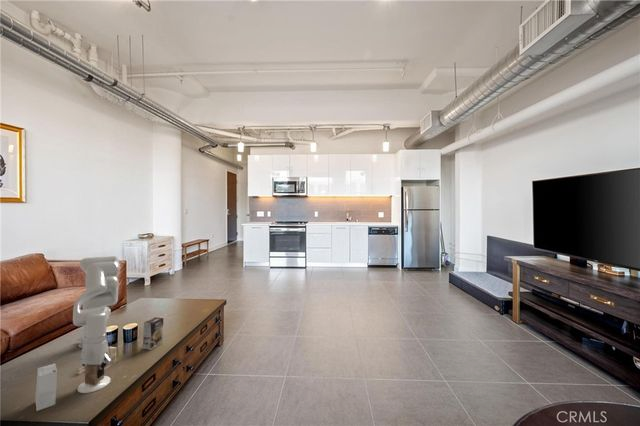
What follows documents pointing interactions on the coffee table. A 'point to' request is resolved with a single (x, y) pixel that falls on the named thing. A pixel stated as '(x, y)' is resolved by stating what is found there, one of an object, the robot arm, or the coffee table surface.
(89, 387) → the ceramic coaster
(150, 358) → the coffee table surface
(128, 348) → the coffee table surface
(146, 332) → the coffee box
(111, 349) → the birch slot
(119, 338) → the coffee table surface
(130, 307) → the coffee table surface
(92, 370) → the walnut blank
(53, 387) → the skincare box
